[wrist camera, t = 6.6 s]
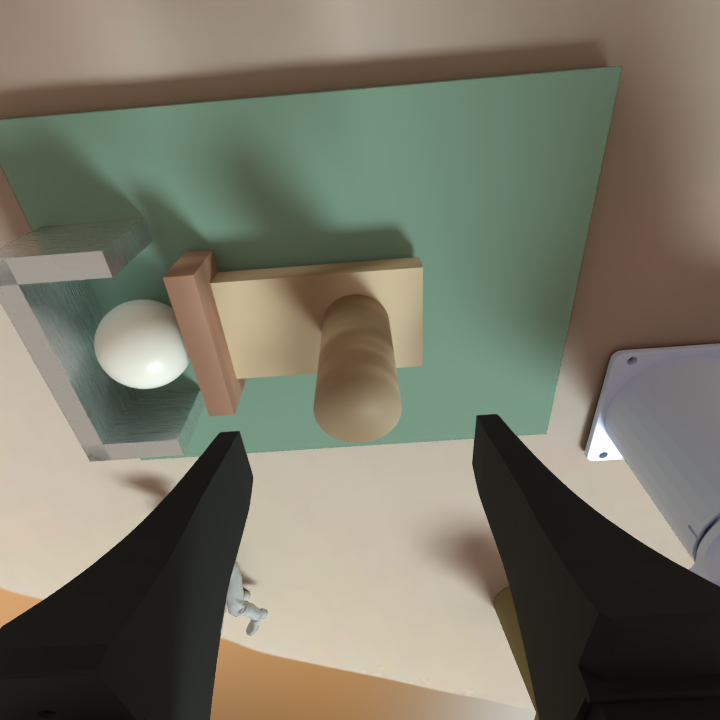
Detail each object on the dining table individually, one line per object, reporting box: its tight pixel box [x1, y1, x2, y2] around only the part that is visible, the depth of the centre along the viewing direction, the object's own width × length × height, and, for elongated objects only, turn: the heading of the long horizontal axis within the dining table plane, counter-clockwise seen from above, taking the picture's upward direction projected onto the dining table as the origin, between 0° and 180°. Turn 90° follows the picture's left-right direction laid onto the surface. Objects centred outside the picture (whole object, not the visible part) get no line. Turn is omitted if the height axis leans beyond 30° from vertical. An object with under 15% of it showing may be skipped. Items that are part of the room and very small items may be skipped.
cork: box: [494, 586, 539, 720], centre depth 34 cm, size 6×6×11 cm
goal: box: [0, 218, 205, 461], centre depth 20 cm, size 4×10×4 cm, turn 4°
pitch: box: [0, 66, 622, 460], centre depth 22 cm, size 24×18×1 cm
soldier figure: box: [221, 560, 268, 636], centre depth 32 cm, size 8×5×12 cm
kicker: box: [163, 250, 423, 443], centre depth 18 cm, size 10×7×7 cm
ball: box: [94, 299, 190, 389], centre depth 20 cm, size 4×4×4 cm
